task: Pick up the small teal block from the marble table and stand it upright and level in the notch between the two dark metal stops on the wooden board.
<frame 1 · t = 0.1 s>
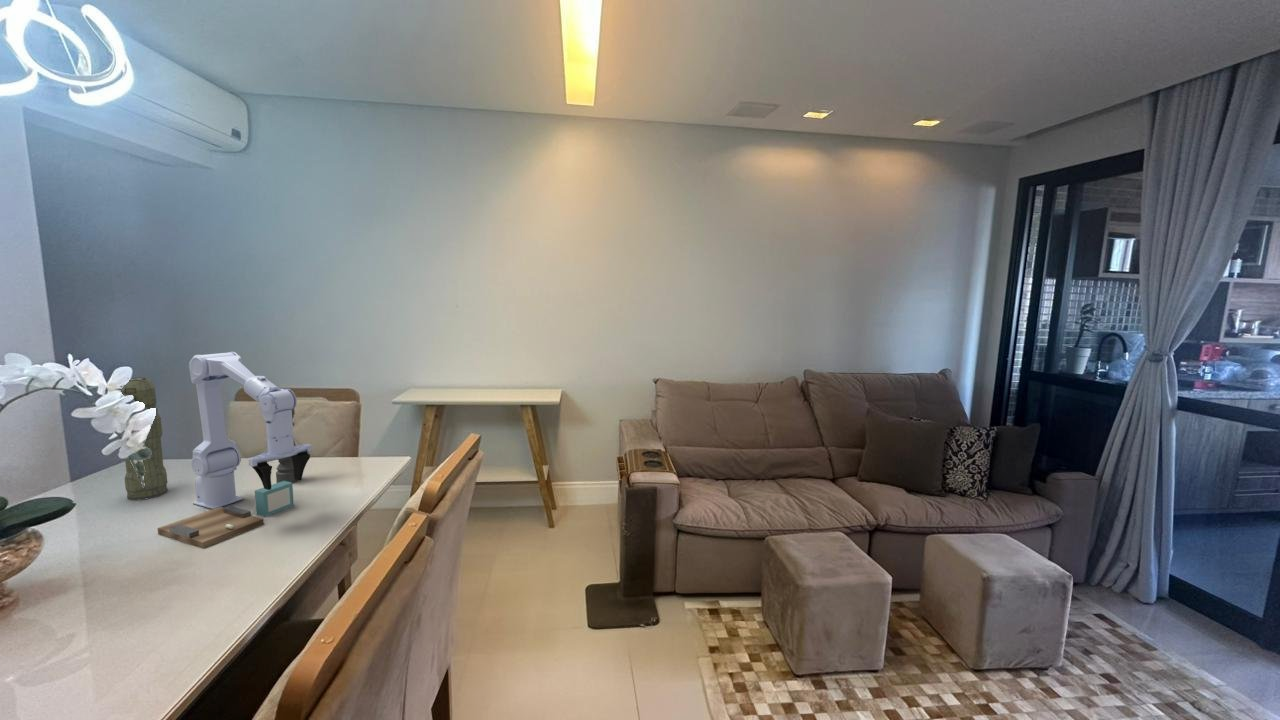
hand: (283, 484, 136), 10 cm above the table, fingers open, 7 cm apart
olive green tall column: (147, 494, 151), on the table
wooden board: (212, 528, 131), on the table
candle holder: (288, 481, 164), on the table
teal block: (275, 510, 143), on the table
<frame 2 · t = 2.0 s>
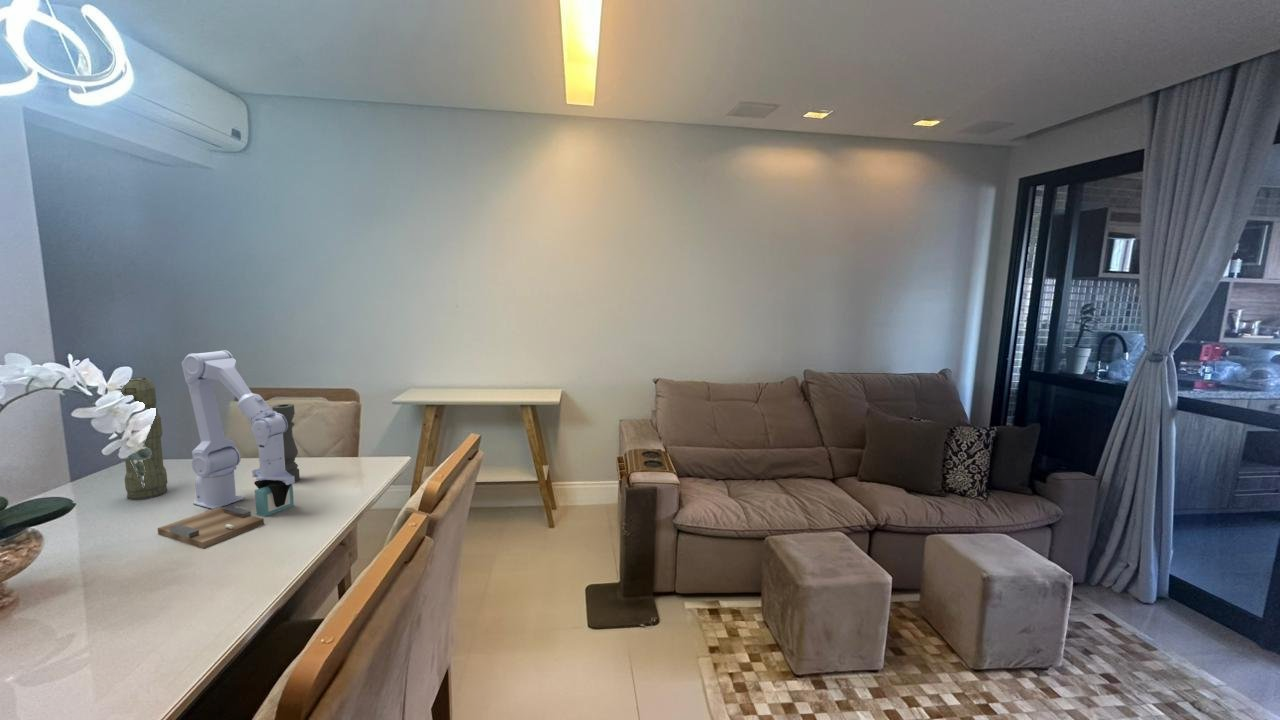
hand: (275, 504, 143), 2 cm above the table, fingers closed on teal block, 3 cm apart
teal block: (275, 509, 143), on the table, touching gripper
everything else where it was.
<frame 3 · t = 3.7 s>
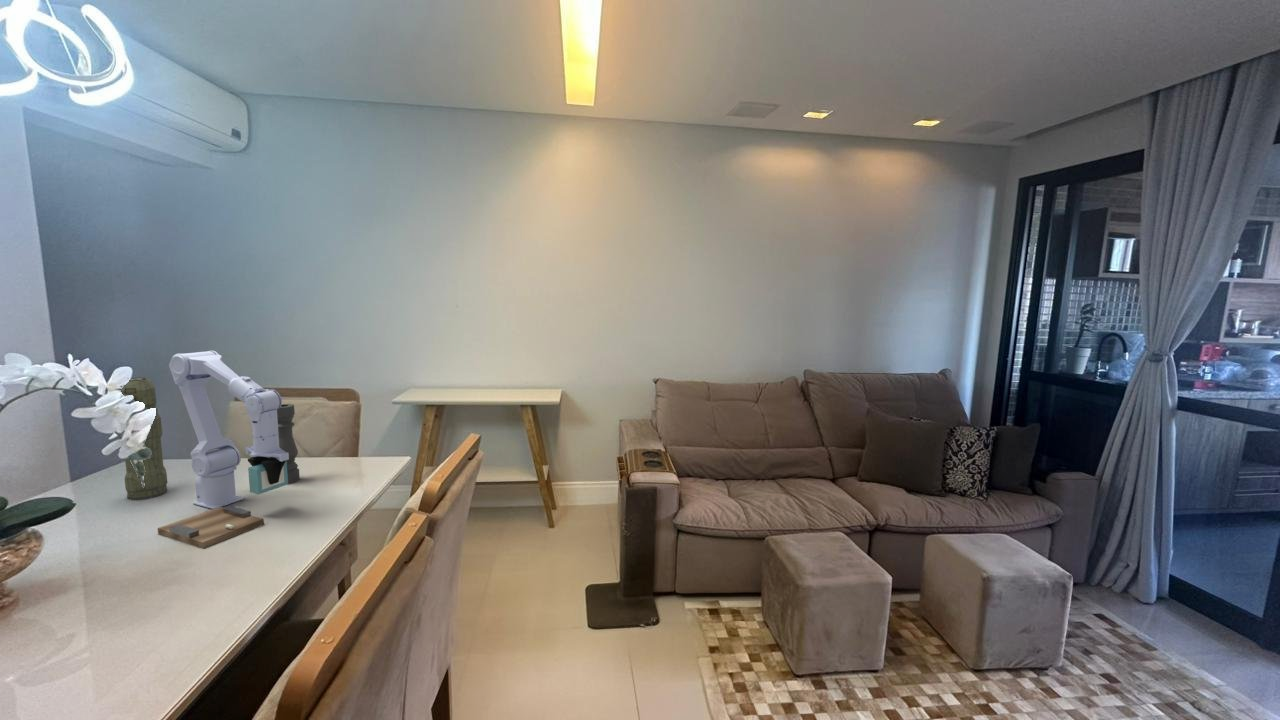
hand: (268, 481, 141), 9 cm above the table, fingers closed on teal block, 3 cm apart
teal block: (269, 488, 141), point 7 cm above the table, touching gripper
everything else where it was.
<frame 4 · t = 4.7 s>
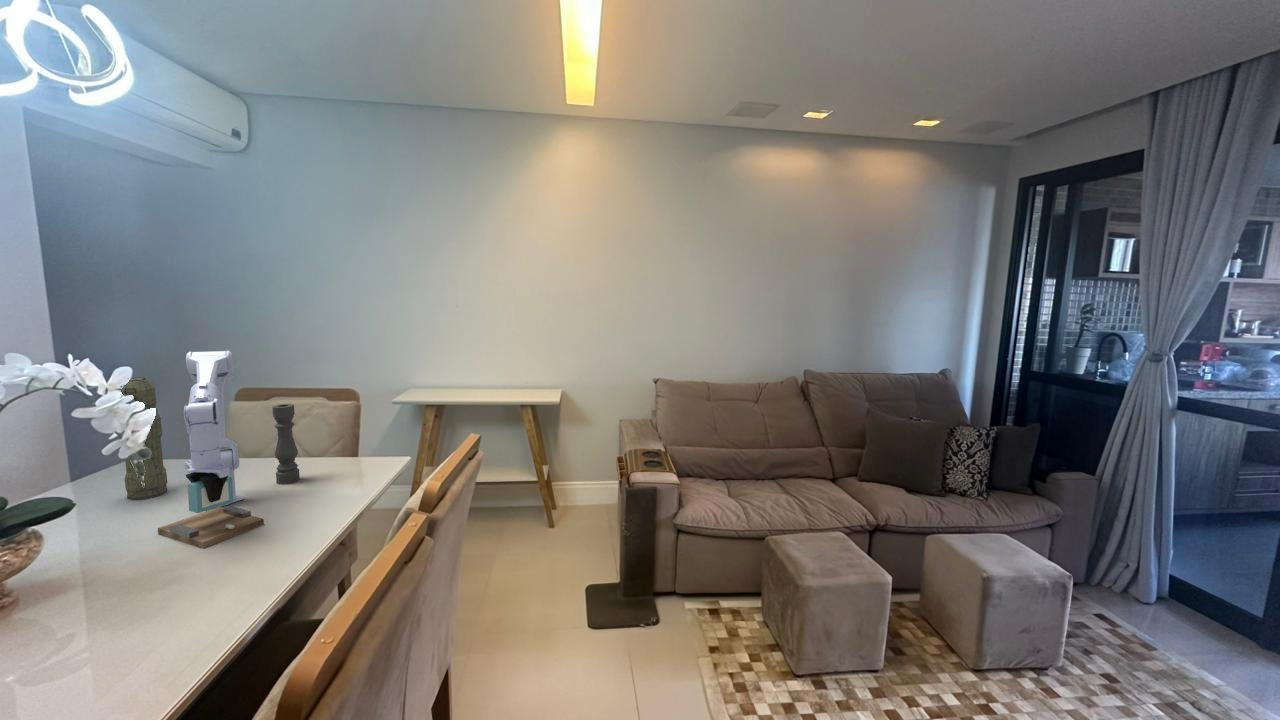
hand: (209, 499, 130), 8 cm above the table, fingers closed on teal block, 3 cm apart
teal block: (211, 506, 130), point 6 cm above the table, touching gripper
everything else where it was.
when the fingers open (4 cm above the table, at t = 5.6 s): teal block stays where it is, resting on wooden board.
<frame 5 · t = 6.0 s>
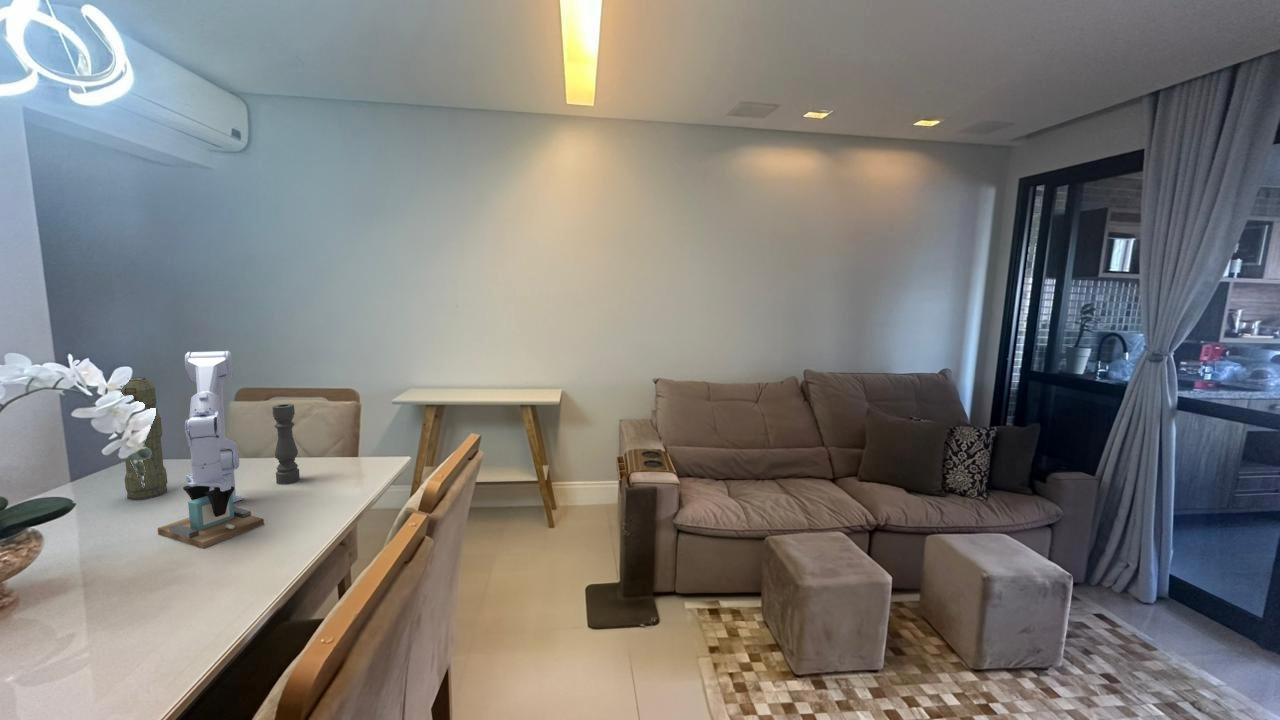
hand: (210, 512, 130), 4 cm above the table, fingers open, 7 cm apart
teal block: (212, 522, 131), point 1 cm above the table, touching wooden board
everything else where it was.
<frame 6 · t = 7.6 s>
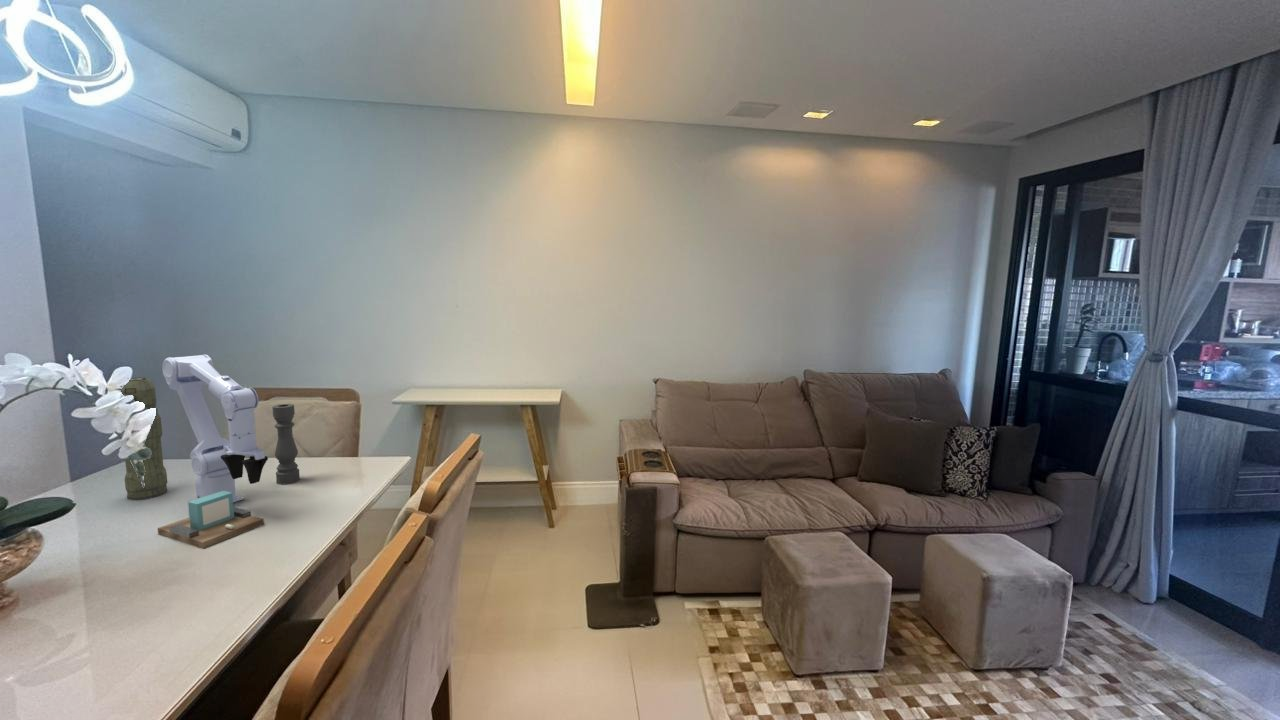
hand: (245, 480, 140), 9 cm above the table, fingers open, 7 cm apart
nothing on the table moved.
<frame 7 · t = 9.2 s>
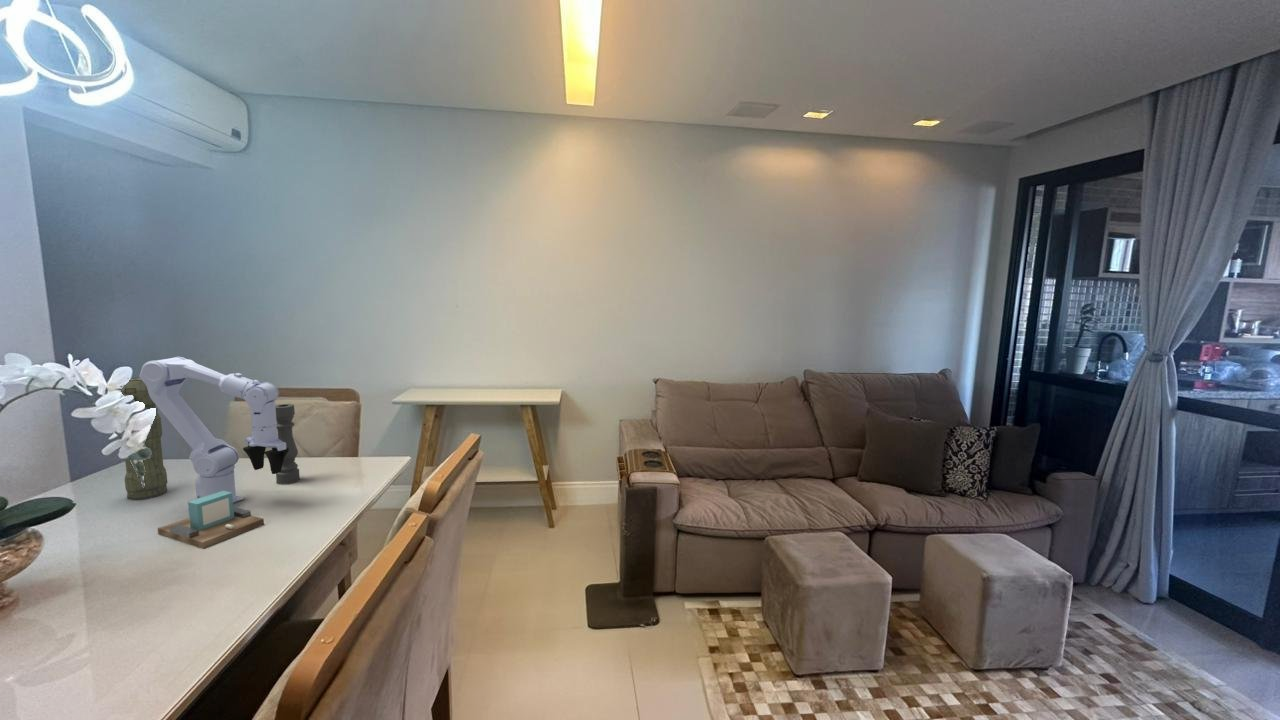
hand: (267, 470, 147), 9 cm above the table, fingers open, 7 cm apart
nothing on the table moved.
at the end: teal block 0.2 cm off-centre on the wooden board, point 1.5 cm above the wooden board's base; teal block tilted 0°; the gripper is holding nothing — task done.
